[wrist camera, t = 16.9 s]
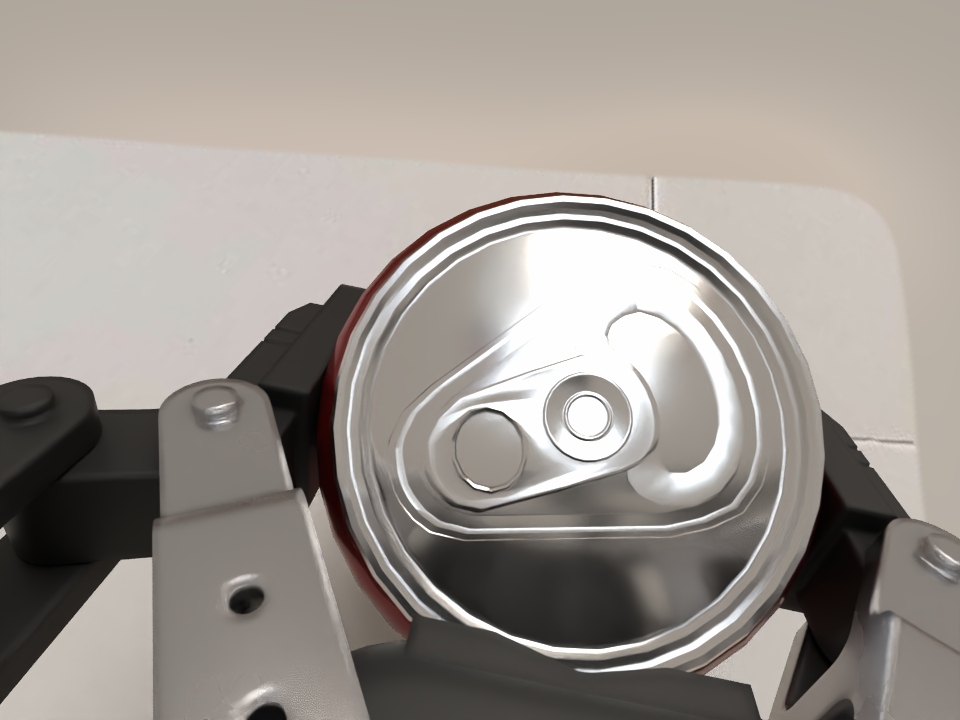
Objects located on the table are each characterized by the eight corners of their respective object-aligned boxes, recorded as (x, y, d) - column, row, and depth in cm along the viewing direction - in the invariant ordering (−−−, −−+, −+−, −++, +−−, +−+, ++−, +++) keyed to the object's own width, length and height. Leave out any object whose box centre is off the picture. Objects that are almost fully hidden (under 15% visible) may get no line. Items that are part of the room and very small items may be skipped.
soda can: (575, 338, 20) (743, 130, 8) (634, 538, 18) (945, 635, 7) (381, 383, 19) (261, 226, 7) (425, 594, 18) (360, 812, 6)
